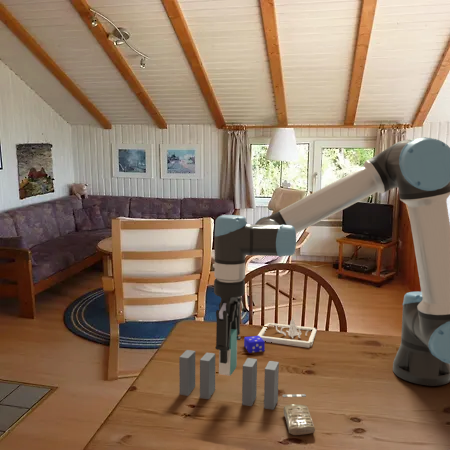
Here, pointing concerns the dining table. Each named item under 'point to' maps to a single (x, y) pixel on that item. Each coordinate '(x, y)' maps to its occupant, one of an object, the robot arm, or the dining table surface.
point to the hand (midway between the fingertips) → (227, 369)
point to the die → (254, 344)
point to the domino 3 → (233, 350)
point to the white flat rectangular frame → (289, 341)
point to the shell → (291, 329)
